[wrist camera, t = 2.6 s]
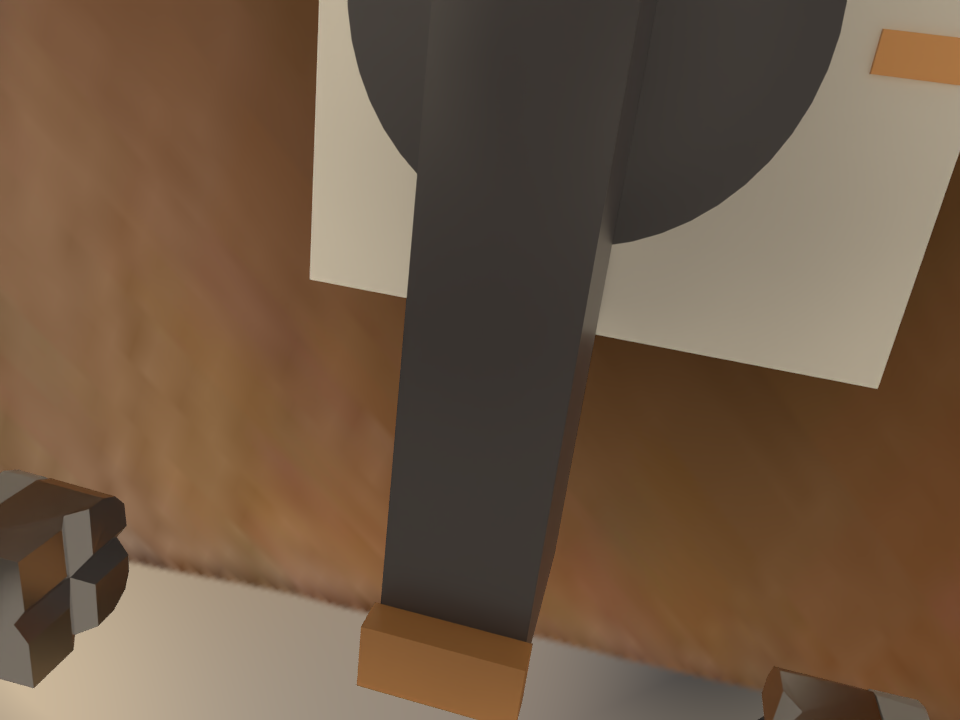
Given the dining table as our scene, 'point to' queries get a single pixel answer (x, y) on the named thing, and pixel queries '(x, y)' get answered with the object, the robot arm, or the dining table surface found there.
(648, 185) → the twist knob
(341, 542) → the dining table surface
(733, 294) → the base
